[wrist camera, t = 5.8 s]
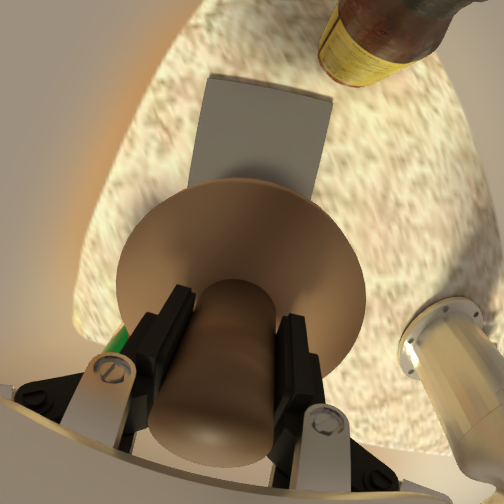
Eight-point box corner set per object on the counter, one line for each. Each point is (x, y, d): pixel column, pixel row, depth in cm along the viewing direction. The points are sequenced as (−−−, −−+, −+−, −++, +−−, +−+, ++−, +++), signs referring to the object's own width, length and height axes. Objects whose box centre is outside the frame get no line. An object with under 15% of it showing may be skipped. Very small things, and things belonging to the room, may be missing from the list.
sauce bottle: (384, 90, 24) (548, 57, 5) (318, 88, 24) (418, 10, 6) (376, 27, 21) (504, -70, 3) (310, 23, 22) (371, -120, 3)
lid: (394, 219, 12) (497, 312, 5) (311, 400, 15) (319, 517, 9) (142, 152, 11) (10, 186, 5) (124, 353, 15) (65, 455, 9)
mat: (331, 103, 25) (333, 103, 24) (304, 219, 29) (304, 221, 28) (208, 78, 24) (207, 78, 24) (187, 195, 28) (186, 197, 28)
